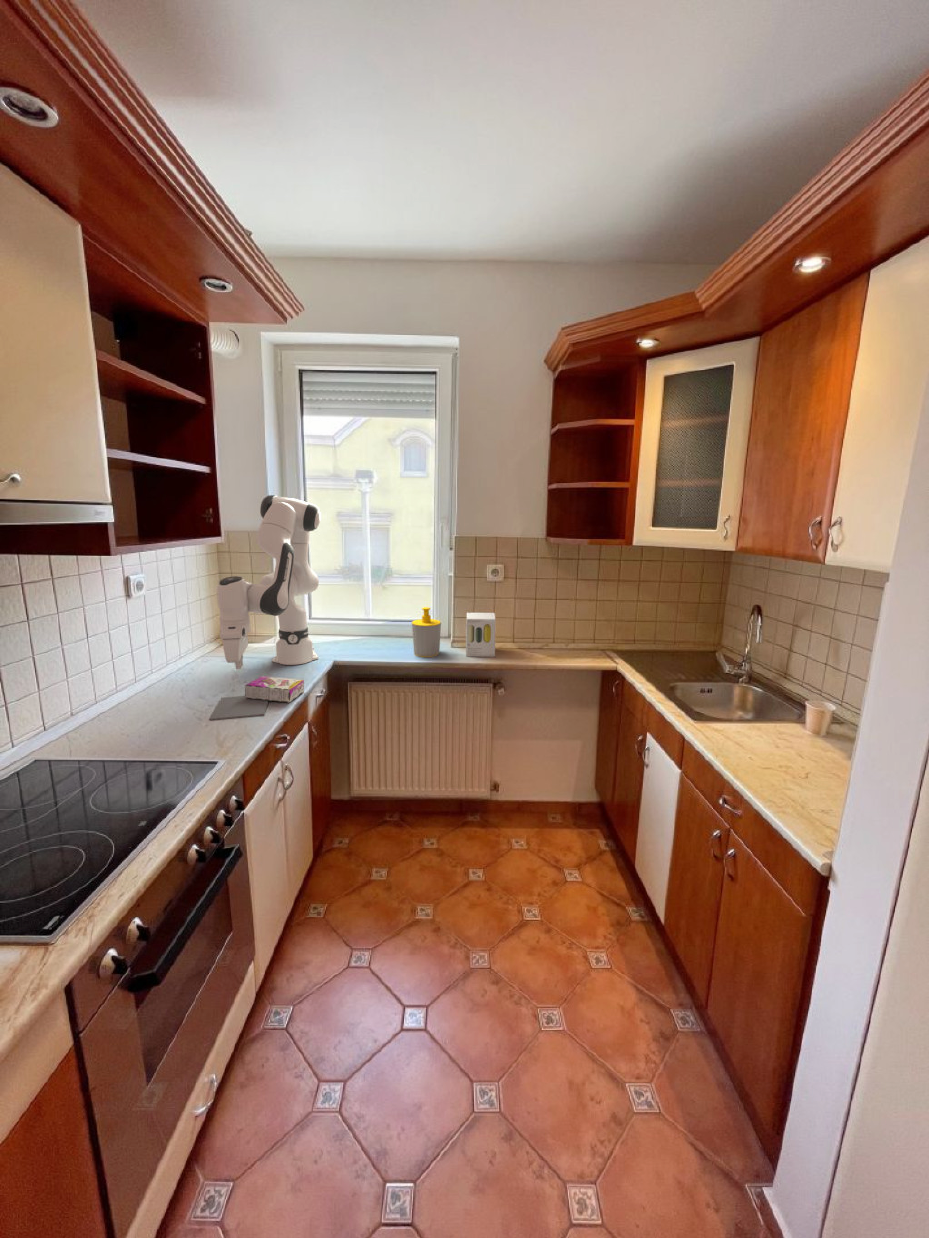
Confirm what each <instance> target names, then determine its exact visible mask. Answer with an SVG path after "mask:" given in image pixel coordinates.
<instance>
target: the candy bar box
mask: <svg viewBox="0 0 929 1238" xmlns="http://www.w3.org/2000/svg"><path fill="white" fill-rule="evenodd" d="M304 684H305V680H304V679H298V678H289V677H287V678H285V677H278V676H266V675H260V676H259V677H257V678H255V679H254V680H251V682H249V683H246V684H245V685H244V696H245V698H251V699H261V700H269V701H272V702H279V703H281V702H283V703H291V702H293V700H295V699H297V698H298V697H300V695H302V694H303V693H305V685H304Z"/></svg>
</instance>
